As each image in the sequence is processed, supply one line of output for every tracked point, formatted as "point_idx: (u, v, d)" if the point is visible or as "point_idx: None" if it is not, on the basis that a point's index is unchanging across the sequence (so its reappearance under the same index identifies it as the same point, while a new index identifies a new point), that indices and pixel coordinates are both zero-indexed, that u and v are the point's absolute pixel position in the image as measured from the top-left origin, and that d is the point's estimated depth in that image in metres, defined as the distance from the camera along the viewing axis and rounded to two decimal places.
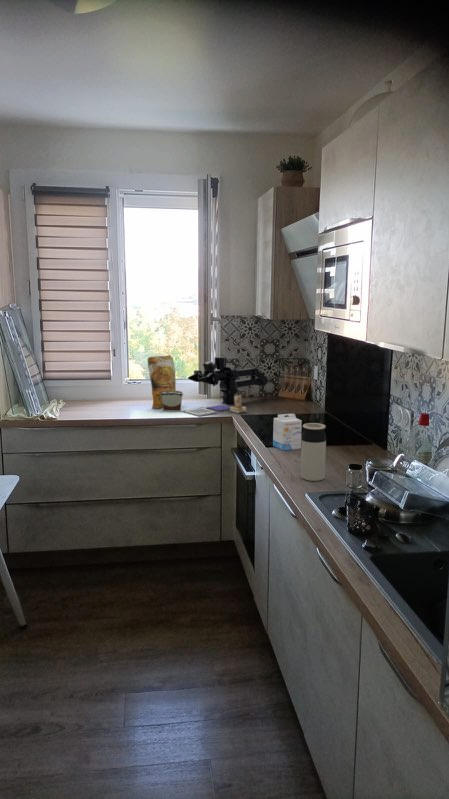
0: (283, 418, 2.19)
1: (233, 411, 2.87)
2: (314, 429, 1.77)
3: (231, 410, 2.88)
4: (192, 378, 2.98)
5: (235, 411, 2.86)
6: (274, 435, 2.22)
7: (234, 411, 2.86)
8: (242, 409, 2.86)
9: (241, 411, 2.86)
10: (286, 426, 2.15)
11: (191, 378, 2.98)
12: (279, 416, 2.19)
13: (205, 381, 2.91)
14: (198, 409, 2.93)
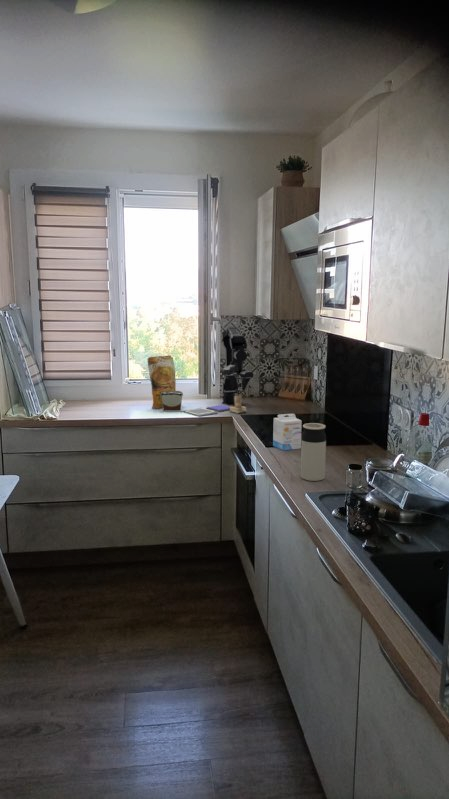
0: (283, 418, 2.19)
1: (233, 411, 2.87)
2: (314, 429, 1.77)
3: (231, 410, 2.88)
4: (232, 383, 2.90)
5: (235, 411, 2.86)
6: (274, 435, 2.22)
7: (234, 411, 2.86)
8: (242, 409, 2.86)
9: (241, 411, 2.86)
10: (286, 426, 2.15)
11: (232, 384, 2.90)
12: (279, 416, 2.19)
13: (246, 383, 2.82)
14: (198, 409, 2.93)
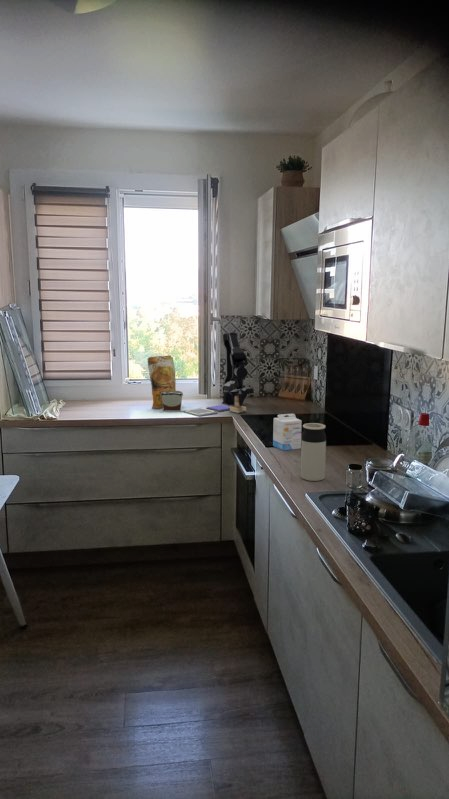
0: (283, 418, 2.19)
1: (233, 411, 2.87)
2: (314, 429, 1.77)
3: (231, 410, 2.88)
4: None
5: (235, 411, 2.86)
6: (274, 435, 2.22)
7: (234, 411, 2.86)
8: (242, 409, 2.86)
9: (241, 411, 2.86)
10: (286, 426, 2.15)
11: None
12: (279, 416, 2.19)
13: (243, 398, 2.86)
14: (198, 409, 2.93)
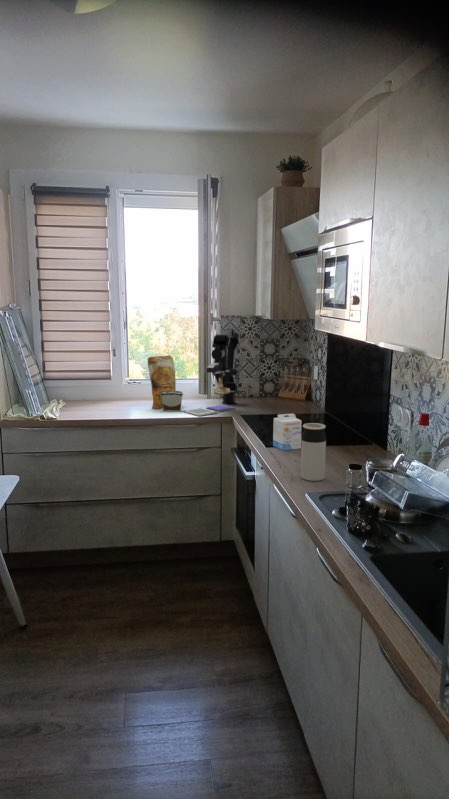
0: (283, 418, 2.19)
1: (217, 392, 2.92)
2: (314, 429, 1.77)
3: (215, 391, 2.94)
4: None
5: (219, 392, 2.91)
6: (274, 435, 2.22)
7: (218, 392, 2.92)
8: (226, 390, 2.92)
9: (225, 392, 2.92)
10: (286, 426, 2.15)
11: None
12: (279, 416, 2.19)
13: (227, 380, 2.91)
14: (198, 409, 2.93)
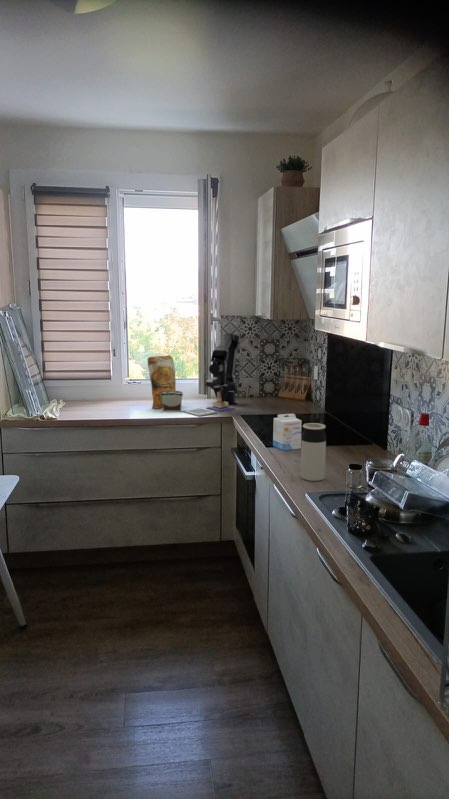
0: (283, 418, 2.19)
1: (216, 406, 2.94)
2: (314, 429, 1.77)
3: (214, 405, 2.96)
4: None
5: (217, 406, 2.93)
6: (274, 435, 2.22)
7: (216, 406, 2.94)
8: (224, 404, 2.94)
9: (223, 406, 2.94)
10: (286, 426, 2.15)
11: None
12: (279, 416, 2.19)
13: (225, 394, 2.93)
14: (198, 409, 2.93)
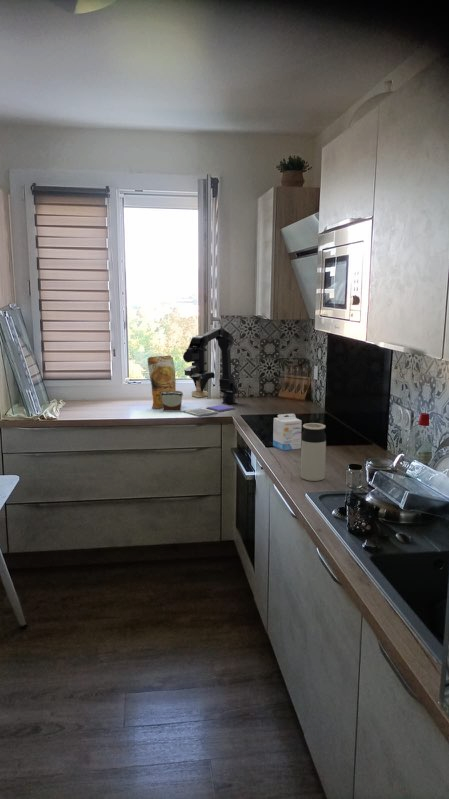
0: (283, 418, 2.19)
1: (195, 396, 2.84)
2: (314, 429, 1.77)
3: (193, 395, 2.85)
4: None
5: (196, 396, 2.83)
6: (274, 435, 2.22)
7: (195, 396, 2.84)
8: (204, 394, 2.84)
9: (203, 396, 2.84)
10: (286, 426, 2.15)
11: None
12: (279, 416, 2.19)
13: (205, 383, 2.83)
14: (198, 409, 2.93)
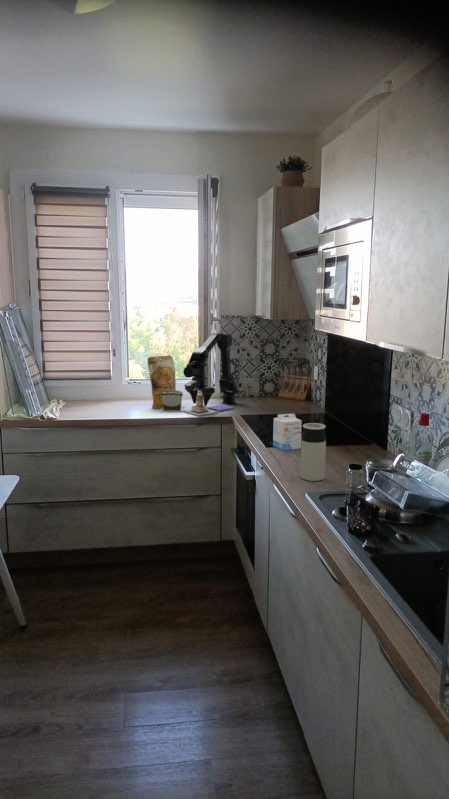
0: (283, 418, 2.19)
1: (195, 410, 2.86)
2: (314, 429, 1.77)
3: (193, 409, 2.87)
4: (195, 398, 2.90)
5: (197, 410, 2.84)
6: (274, 435, 2.22)
7: (196, 410, 2.85)
8: (204, 408, 2.85)
9: (203, 410, 2.85)
10: (286, 426, 2.15)
11: (195, 399, 2.90)
12: (279, 416, 2.19)
13: (208, 399, 2.83)
14: None
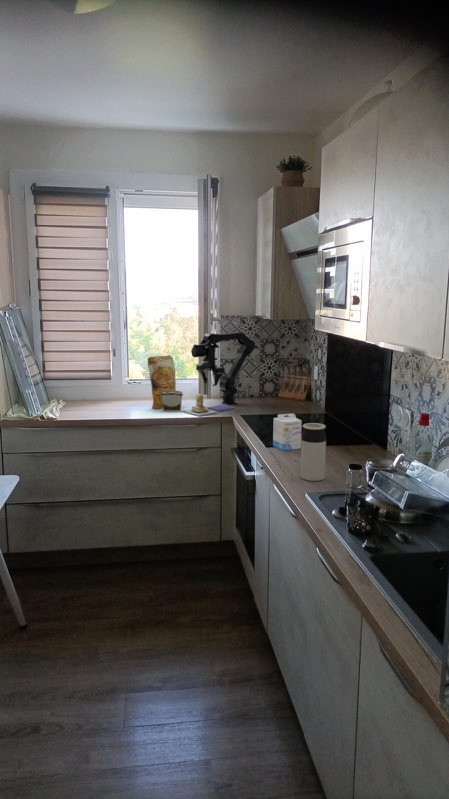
0: (283, 418, 2.19)
1: (195, 410, 2.86)
2: (314, 429, 1.77)
3: (193, 409, 2.87)
4: (206, 378, 3.07)
5: (197, 410, 2.84)
6: (274, 435, 2.22)
7: (196, 410, 2.85)
8: (204, 408, 2.85)
9: (203, 410, 2.85)
10: (286, 426, 2.15)
11: (206, 379, 3.07)
12: (279, 416, 2.19)
13: (218, 378, 2.99)
14: None
